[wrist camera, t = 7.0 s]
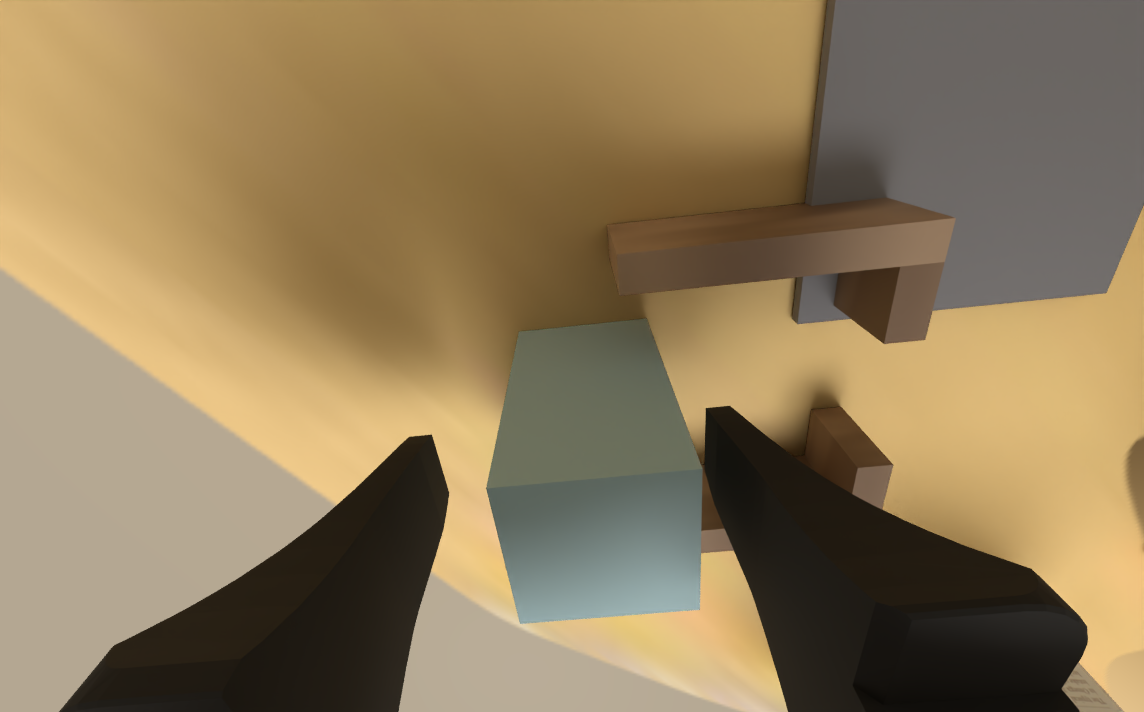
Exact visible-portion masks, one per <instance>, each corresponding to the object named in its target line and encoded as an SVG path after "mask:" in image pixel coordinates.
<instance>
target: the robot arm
mask: <svg viewBox="0 0 1144 712" xmlns="http://www.w3.org/2000/svg"><path fill="white" fill-rule="evenodd" d="M704 470H705V474H706V477H707V481H708V485H709V488H710V492H711V495H712V498H713V502H714V505H715V507H716V510H717V512H718V515H719V517H720V519H721V522H722V524H723V526H724V529H725V531H726V533H727V536H728V538H729V540H730V543H731V545H732V547H733V550H734V552H735V554H736V556H737V559H738V561H739V563H740V566H741V568H742V570H743V573H744V575H745V577H746V580H747V582H748V585H749V587H750V590H751V592H752V595H753V598H754V600H755V604H756V607H757V610H758V613H759V616H760V619H761V622H762V626H763V629H764V632H765V635H766V638H767V641H768V645H769V648H770V651H771V655H772V658H773V661H774V665H775V668H776V671H777V674H778V678H779V681H780V685H781V688H782V692H783V695H784V699H785V702H786V706H787V709H788V712H1080V711H1079V709H1078V708H1077V707H1076V705H1075V704H1074V703H1073V702H1072V701H1071V699H1070V698H1069V697H1068V696H1067V695H1066V694H1065V692H1064V691H1063V690H1062V687H1063V686H1064V684H1065V683H1066V681H1067V679H1068V678H1069V676H1070V675H1071V673H1072V672H1073V670H1074V668H1075V667H1076V665H1077V664H1078V662H1079V661H1080V659H1081V657H1082V655H1083V653H1084V651H1085V648H1086V646H1087V641H1088V635H1087V626H1086V624H1085V623H1084V622H1083V620H1082V619H1081V618H1080V616H1079V615H1078V614H1077V613H1076V612H1075V611H1074V610H1073V609H1072V608H1071V607H1070V606H1069V605H1068V604H1067V603H1066V602H1065V601H1064V600H1063V599H1062V598H1061V597H1060V596H1059V595H1058V594H1057V593H1056V592H1055V591H1054V590H1053V589H1052V588H1051V587H1050V586H1049V585H1048V584H1047V583H1046V582H1045V581H1044V580H1043V579H1042V578H1041V577H1040V576H1038V575H1037V574H1036V573H1035V572H1034V571H1033V570H1032V569H1030V568H1027V567H1024V566H1021V565H1018V564H1015V563H1013V562H1010V561H1007V560H1004V559H1001V558H998V557H995V556H992V555H989V554H987V553H984V552H981V551H978V550H975V549H972V548H969V547H967V546H964V545H961V544H959V543H956V542H954V541H951V540H949V539H947V538H944V537H942V536H939V535H937V534H934V533H932V532H929V531H927V530H925V529H922V528H920V527H918V526H916V525H913V524H911V523H909V522H907V521H904V520H902V519H900V518H898V517H896V516H894V515H892V514H890V513H888V512H886V511H884V510H882V509H880V508H878V507H876V506H874V505H872V504H870V503H868V502H866V501H864V500H862V499H860V498H859V497H857V496H855V495H853V494H852V493H850V492H848V491H846V490H845V489H843V488H841V487H839V486H838V485H836V484H834V483H833V482H831V481H829V480H828V479H826V478H825V477H823V476H821V475H820V474H818V473H817V472H815V471H814V470H812V469H811V468H809V467H808V466H806V465H805V464H803V463H802V462H801V461H799V460H798V459H796V458H795V457H793V456H792V455H791V454H789V453H788V452H787V451H785V450H784V449H783V448H781V447H780V446H779V445H777V444H776V443H775V442H773V441H772V440H771V439H770V438H768V437H767V436H766V435H765V434H763V433H762V432H761V431H760V430H758V429H757V428H756V427H755V426H754V425H752V424H751V423H750V422H749V421H747V420H746V419H745V418H744V417H743V416H741V415H740V414H739V413H738V412H737V411H735V410H734V409H733V408H732V407H730V406H724V407H713V408H706V426H705V466H704ZM448 498H449V491H448V488H447V484H446V481H445V477H444V474H443V471H442V467H441V464H440V461H439V457H438V454H437V450H436V447H435V444H434V440H433V437H432V435H424V436H414V437H409V438H408V439H406V440H405V441H404V442H403V443H402V444H401V445H400V446H399V447H398V448H397V449H396V450H395V451H394V452H393V453H392V454H391V455H390V456H389V457H388V458H387V459H386V460H385V461H384V462H383V463H382V464H380V465H379V466H378V467H377V468H376V469H375V470H374V471H373V472H372V473H371V474H370V475H369V476H368V477H367V478H366V479H365V480H364V481H363V482H362V483H361V484H360V485H359V486H358V487H357V488H356V489H355V490H353V491H352V492H351V493H350V494H349V495H348V496H347V497H346V498H344V499H343V500H342V501H341V502H340V503H339V504H338V505H337V506H335V507H334V508H333V509H332V510H331V511H330V512H329V513H327V514H326V515H325V516H324V517H323V518H322V519H321V520H319V521H318V522H317V523H316V524H314V525H313V526H312V527H311V528H310V529H308V530H307V531H306V532H304V533H303V534H302V535H300V536H299V537H298V538H296V539H295V540H294V541H292V542H291V543H290V544H288V545H287V546H286V547H284V548H283V549H281V550H280V551H279V552H277V553H276V554H274V555H273V556H271V557H270V558H268V559H267V560H265V561H264V562H262V563H261V564H259V565H258V566H256V567H255V568H253V569H252V570H250V571H249V572H247V573H246V574H244V575H243V576H241V577H240V578H238V579H236V580H235V581H233V582H231V583H230V584H228V585H227V586H225V587H223V588H221V589H220V590H218V591H217V592H215V593H213V594H211V595H210V596H208V597H206V598H205V599H203V600H201V601H199V602H197V603H196V604H194V605H192V606H191V607H189V608H187V609H185V610H183V611H181V612H179V613H178V614H176V615H174V616H172V617H170V618H168V619H166V620H164V621H162V622H160V623H158V624H156V625H154V626H153V627H150V628H148V629H147V630H144V631H142V632H140V633H138V634H136V635H135V636H133V637H131V638H129V639H127V640H125V641H122V642H120V643H118V644H116V645H114V646H113V647H112V648H111V650H110V651H109V652H108V653H107V654H106V656H105V657H104V658H103V659H102V661H101V662H100V663H99V664H98V666H97V667H96V668H95V669H94V670H93V671H92V673H91V674H90V675H89V676H88V678H87V679H86V680H85V681H84V682H83V684H82V685H81V686H80V687H79V688H78V690H77V691H76V692H75V693H74V695H73V696H72V697H71V698H70V699H69V701H68V702H67V703H66V704H65V705H64V707H63V708H62V709H61V710H60V711H59V712H398V711H399V705H400V699H401V694H402V688H403V683H404V677H405V671H406V666H407V661H408V656H409V651H410V646H411V641H412V635H413V631H414V626H415V622H416V619H417V615H418V611H419V608H420V604H421V601H422V598H423V595H424V591H425V588H426V585H427V581H428V578H429V575H430V572H431V569H432V565H433V562H434V559H435V556H436V552H437V549H438V546H439V542H440V539H441V536H442V532H443V529H444V523H445V517H446V511H447V505H448Z"/></svg>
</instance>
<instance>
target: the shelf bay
mask: <svg viewBox="0 0 1144 712" xmlns="http://www.w3.org/2000/svg"><path fill="white" fill-rule="evenodd" d="M955 220H956V218H954V217H951V216H948V215H944V214H941V213H938V212H934V211H931V210H927V209H924V208H921V207H917V206H914V205H911V204H907V203H904V202H901V201H897V200H894V199H890V198H878V199H869V200H860V201H851V202H842V203H833V204H824V205H814V206H811V205H808V204H806V203H801V204H792V205H783V206H774V207H765V208H756V209H747V210H738V211H729V212H720V213H711V214H702V215H692V216H683V217H674V218H665V219H656V220H647V221H638V222H629V223H620V224H611V225H607V231H608V245H609V259H610V263H611V267H612V270H613V274H614V278H615V281H616V285H617V288H618V292H619V296H623V295H632V294H642V293H651V292H661V291H671V290H680V289H690V288H699V287H709V286H719V285H728V284H738V283H747V282H757V281H767V280H776V279H786V278H795V277H805V276H815V275H824V274H834V273H838V279H837V285H836V292H835V299H834V306H835V307H836V308H838V309H839V310H840V311H842V312H843V313H844V314H845V315H847V316H848V317H849V318H851V319H852V320H853V321H855V322H856V323H857V324H859V325H860V326H861V327H863V328H864V329H865V330H867V331H868V332H869V333H870V334H872V335H873V336H874V337H876V338H877V339H878V340H880V341H881V342H882V343H884V344H888V343H898V342H908V341H918V340H925V338H926V334H927V330H928V326H929V322H930V318H931V314H932V310H933V307H934V303H935V299H936V295H937V291H938V287H939V283H940V279H941V275H942V271H943V267H944V263H945V259H946V255H947V251H948V247H949V244H950V240H951V236H952V232H953V228H954V224H955ZM794 457H795V458H796V459H798V460H799V461H801V462H802V463H803V464H805V465H806V466H808V467H809V468H811V469H812V470H814V471H815V472H817V473H818V474H820V475H821V476H823V477H825V478H826V479H828V480H829V481H831V482H833V483H834V484H836V485H838V486H839V487H841V488H843V489H845V490H846V491H848V492H850V493H852V494H853V495H855V496H857V497H859V498H860V499H862V500H864V501H866V502H868V503H870V504H872V505H874V506H876V507H878V508H880V509H882V507H883V503H884V499H885V495H886V492H887V488H888V484H889V480H890V476H891V472H892V468H893V464H892V463H891V462H890V461H889V460H888V458H887V457H886V456H885V455H884V454H883V453H882V452H881V451H880V450H879V448H878V447H877V446H876V445H875V444H874V443H873V442H872V441H871V440H870V438H869V437H868V436H867V435H866V434H865V433H864V432H863V431H862V430H861V428H860V427H859V426H858V425H857V424H856V423H855V422H854V421H853V420H852V418H851V417H850V416H849V415H848V414H847V413H846V412H845V411H844V410H843V408H842V407H833V408H823V409H812V410H811V415H810V422H809V429H808V436H807V443H806V450H805V456H794ZM701 466H702V521H701V553H709V552H721V551H733V547H732V545H731V543H730V540H729V538H728V536H727V533H726V531H725V529H724V526H723V524H722V522H721V519H720V517H719V515H718V512H717V510H716V507H715V505H714V502H713V498H712V495H711V492H710V488H709V485H708V481H707V477H706V474H705V470H704V466H705V465H701Z"/></svg>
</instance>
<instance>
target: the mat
mask: <svg viewBox="0 0 1144 712" xmlns="http://www.w3.org/2000/svg"><path fill="white" fill-rule="evenodd" d="M878 198H890V199H894V200H897V201H901V202H904V203H907V204H911V205H914V206H917V207H921V208H924V209H927V210H931V211H934V212H938V213H941V214H944V215H948V216H951V217H954V218H956V220H955V224H954V228H953V232H952V236H951V240H950V244H949V247H948V251H947V255H946V259H945V263H944V267H943V271H942V275H941V279H940V283H939V287H938V291H937V295H936V299H935V303H934V307H933V310H943V309H953V308H963V307H973V306H983V305H993V304H1003V303H1013V302H1023V301H1033V300H1043V299H1053V298H1063V297H1073V296H1083V295H1093V294H1103V293H1107V290H1108V288H1109V285H1110V283H1111V281H1112V278H1113V276H1114V274H1115V271H1116V269H1117V267H1118V264H1119V262H1120V260H1121V257H1122V255H1123V253H1124V250H1125V248H1126V245H1127V243H1128V241H1129V238H1130V236H1131V234H1132V231H1133V229H1134V227H1135V224H1136V222H1137V220H1138V217H1139V215H1140V212H1141V210H1142V208H1143V205H1144V0H828V1H827V10H826V19H825V28H824V37H823V46H822V55H821V64H820V73H819V82H818V91H817V100H816V109H815V118H814V127H813V136H812V145H811V154H810V163H809V172H808V181H807V190H806V199H805V203H806V204H808V205H811V206H814V205H824V204H833V203H842V202H851V201H860V200H869V199H878ZM837 279H838V273H834V274H824V275H815V276H805V277H797V280H796V289H795V298H794V307H793V316H792V319H793V320H794V321H795V322H796V323H797V324H804V323H814V322H824V321H833V320H843V319H851V318H849V317H848V316H847V315H845V314H844V313H843V312H842V311H840V310H839V309H838V308H836V307H835V306H834V299H835V292H836V285H837ZM933 310H932V311H933Z"/></svg>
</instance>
